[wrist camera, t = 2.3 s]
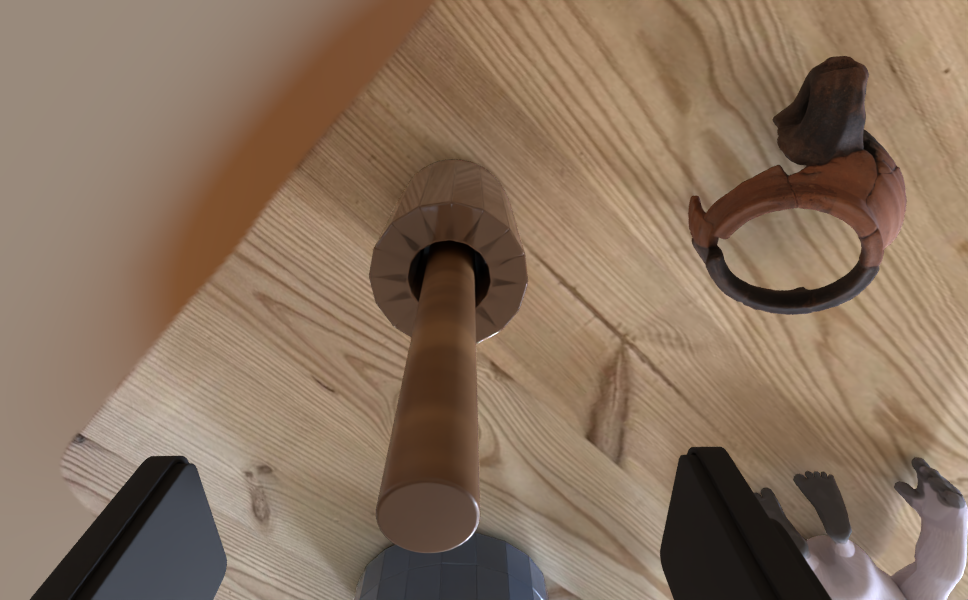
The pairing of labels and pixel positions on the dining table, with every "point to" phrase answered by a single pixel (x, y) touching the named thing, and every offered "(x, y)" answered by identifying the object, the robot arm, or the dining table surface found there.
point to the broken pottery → (814, 189)
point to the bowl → (454, 574)
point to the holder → (458, 217)
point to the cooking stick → (436, 415)
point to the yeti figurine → (849, 570)
